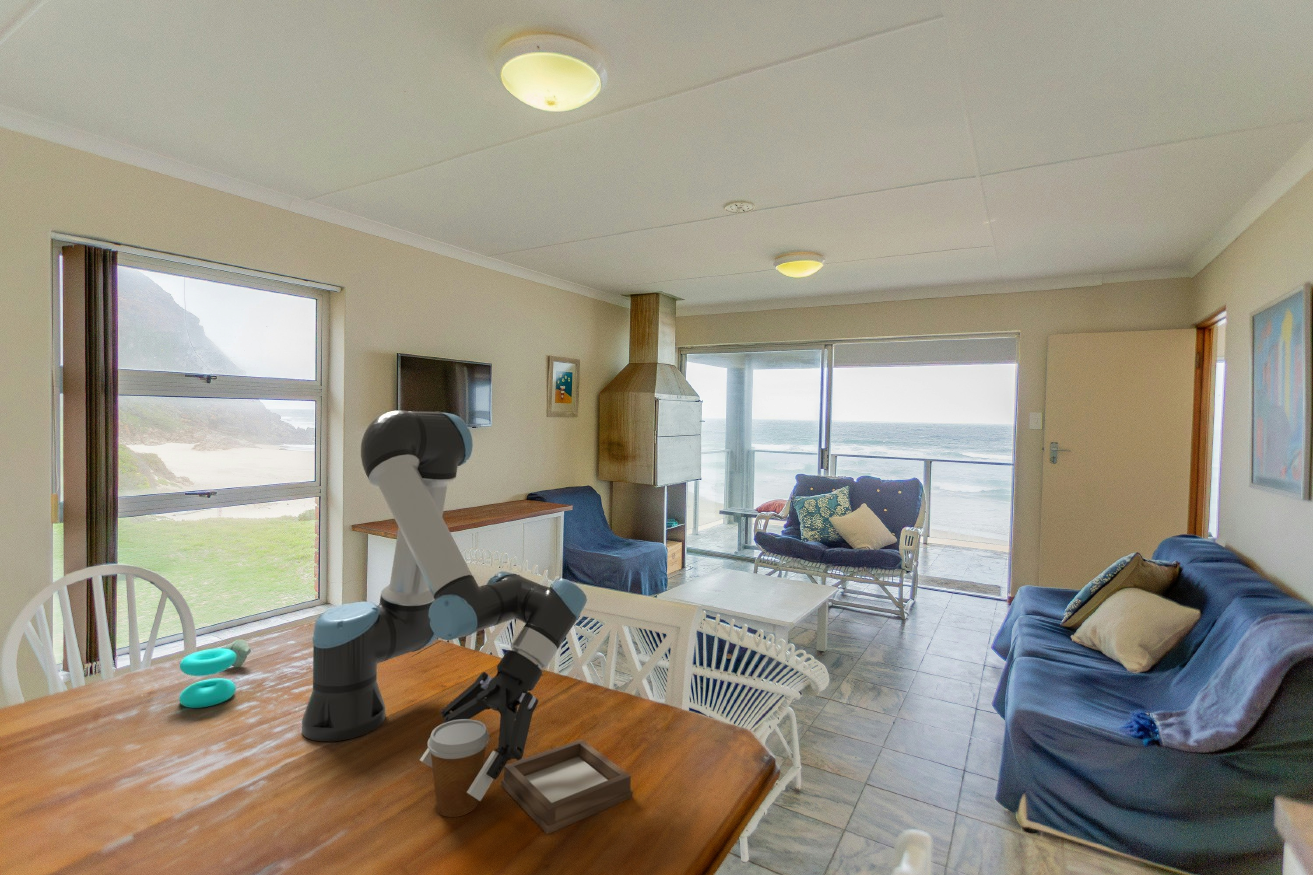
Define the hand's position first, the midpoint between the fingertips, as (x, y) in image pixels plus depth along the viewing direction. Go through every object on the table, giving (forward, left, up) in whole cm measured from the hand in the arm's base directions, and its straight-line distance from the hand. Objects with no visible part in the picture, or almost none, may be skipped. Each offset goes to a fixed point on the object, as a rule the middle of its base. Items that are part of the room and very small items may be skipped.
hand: (448, 780), depth 99 cm
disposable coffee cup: (-1, +2, -5) cm, 5 cm away
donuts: (-70, -27, -5) cm, 75 cm away
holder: (+6, +18, -5) cm, 20 cm away
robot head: (-88, -20, -5) cm, 90 cm away
